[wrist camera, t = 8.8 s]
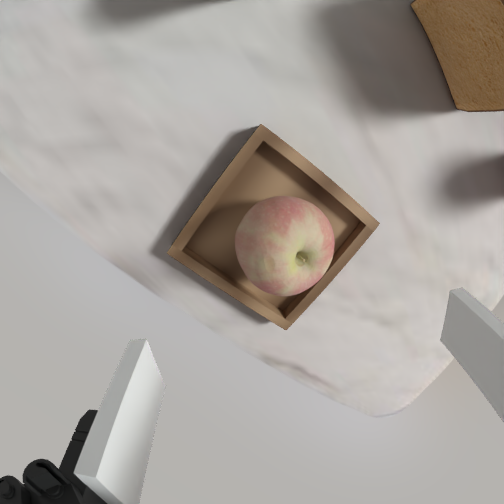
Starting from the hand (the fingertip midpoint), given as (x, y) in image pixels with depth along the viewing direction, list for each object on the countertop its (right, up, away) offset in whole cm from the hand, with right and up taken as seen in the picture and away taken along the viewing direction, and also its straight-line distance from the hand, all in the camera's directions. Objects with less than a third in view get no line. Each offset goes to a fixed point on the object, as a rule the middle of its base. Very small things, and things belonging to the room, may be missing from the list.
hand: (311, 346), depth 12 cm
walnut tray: (0, +6, +18) cm, 19 cm away
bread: (+32, +31, +10) cm, 46 cm away
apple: (0, +6, +17) cm, 18 cm away
